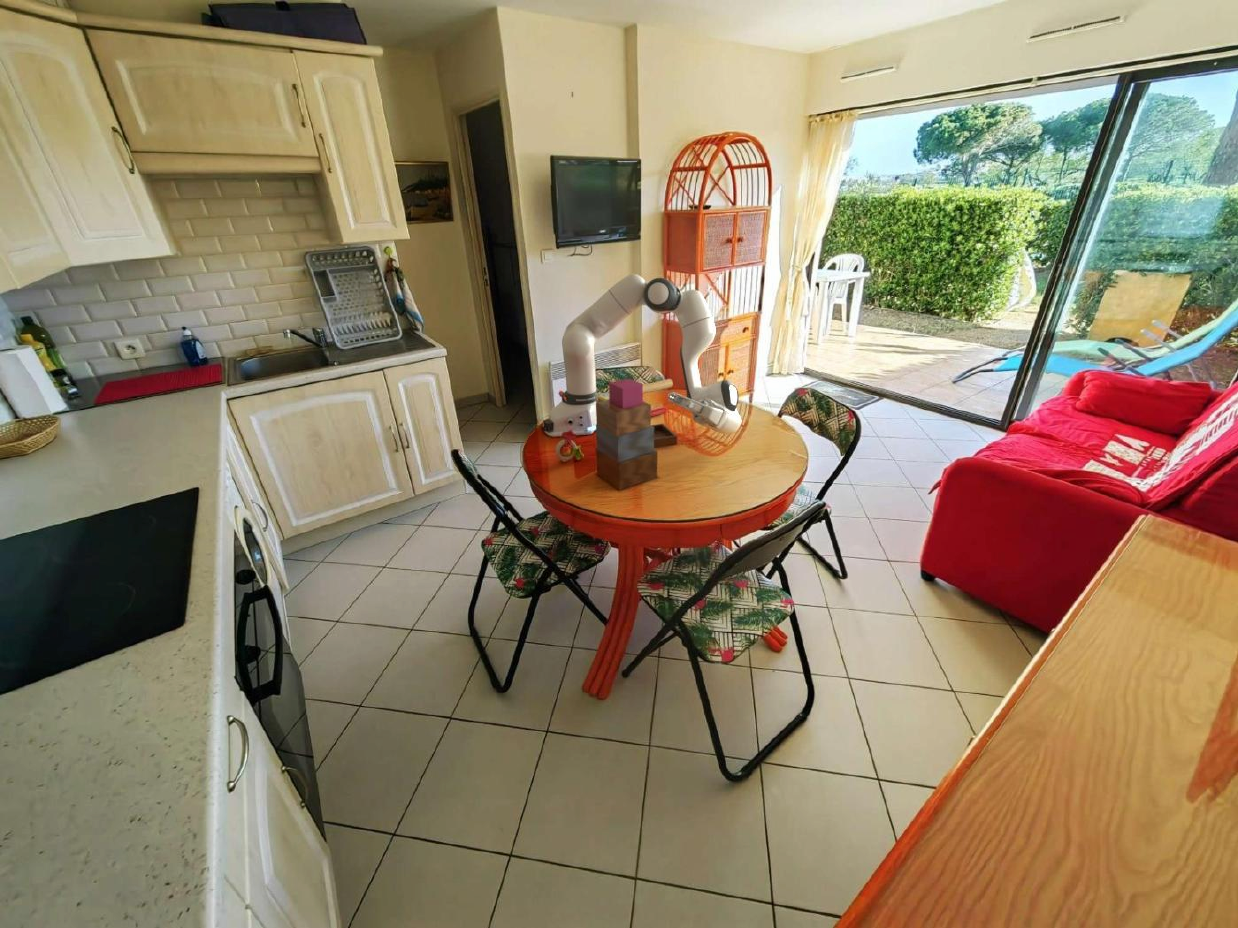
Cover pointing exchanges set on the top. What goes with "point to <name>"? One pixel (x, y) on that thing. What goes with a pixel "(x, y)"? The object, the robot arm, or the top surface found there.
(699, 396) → the robot arm
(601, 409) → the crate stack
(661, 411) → the candy bar
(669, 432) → the walnut tray
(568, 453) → the bird rattle
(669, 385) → the mulberry block
